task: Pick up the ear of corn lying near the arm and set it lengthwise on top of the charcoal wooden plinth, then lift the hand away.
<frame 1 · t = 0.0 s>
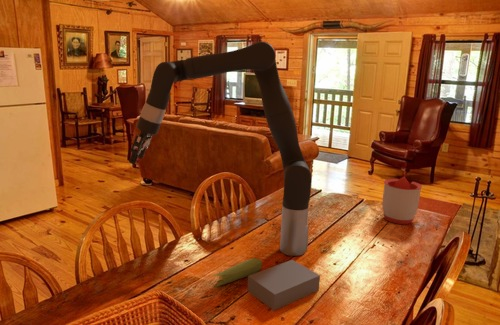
hand: (135, 160, 142), 31 cm above the table, tool tilted 20°, fingers open, 8 cm apart
citrus juicer: (398, 219, 182), on the table
plinth: (283, 290, 122), on the table
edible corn: (236, 279, 128), on the table
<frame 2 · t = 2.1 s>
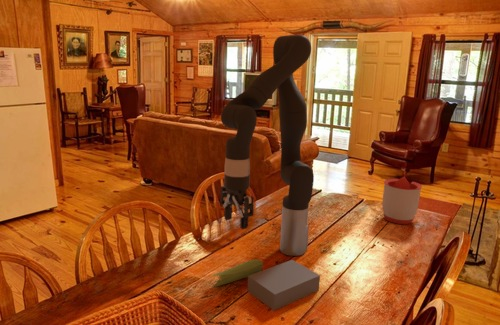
hand: (235, 223, 124), 18 cm above the table, tool pointing down, fingers open, 8 cm apart
nothing on the table moved.
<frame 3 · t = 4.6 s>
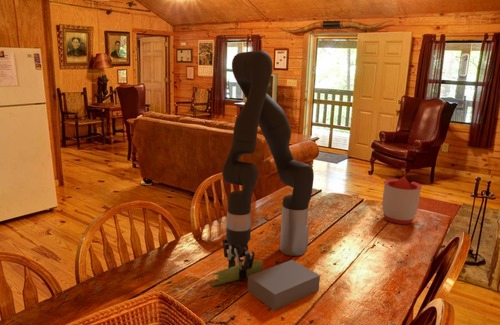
hand: (237, 275, 128), 1 cm above the table, tool pointing down, fingers open, 5 cm apart
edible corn: (235, 279, 128), on the table, touching gripper
everything else where it was.
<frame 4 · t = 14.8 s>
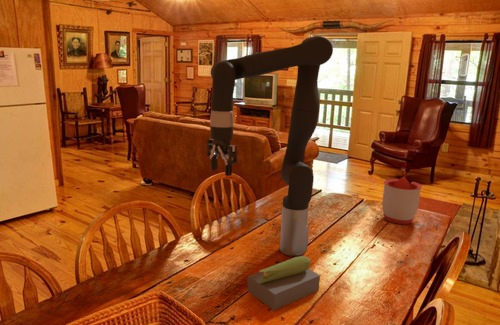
hand: (221, 172, 135), 30 cm above the table, tool pointing down, fingers open, 8 cm apart
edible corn: (282, 276, 120), point 5 cm above the table, touching plinth
everything else where it was.
at the end: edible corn inside the target area on the plinth (0.5 cm from its centre), point 4.8 cm above the plinth's base; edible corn touching plinth; the gripper is holding nothing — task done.
